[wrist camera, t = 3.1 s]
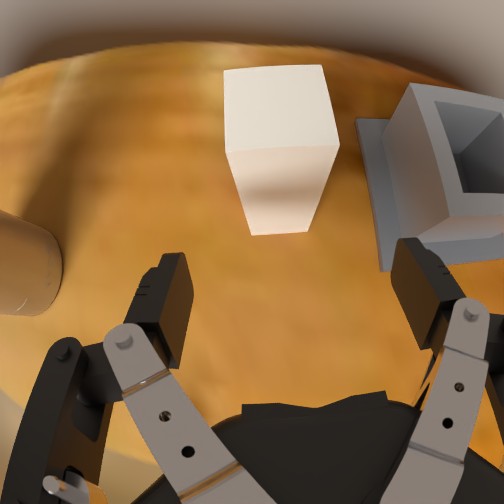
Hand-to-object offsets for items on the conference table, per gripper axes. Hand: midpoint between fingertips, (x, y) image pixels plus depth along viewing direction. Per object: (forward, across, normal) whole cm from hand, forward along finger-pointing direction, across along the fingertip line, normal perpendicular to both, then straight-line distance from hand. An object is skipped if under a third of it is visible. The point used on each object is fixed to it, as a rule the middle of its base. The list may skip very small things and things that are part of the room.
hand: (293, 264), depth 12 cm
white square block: (+14, 0, +5) cm, 15 cm away
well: (+15, -15, +4) cm, 21 cm away
